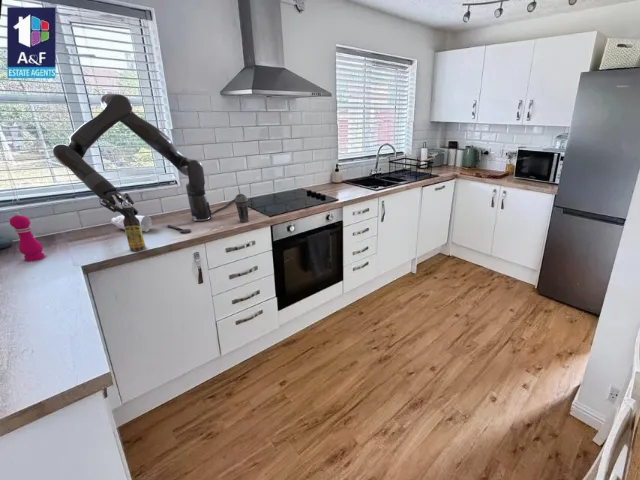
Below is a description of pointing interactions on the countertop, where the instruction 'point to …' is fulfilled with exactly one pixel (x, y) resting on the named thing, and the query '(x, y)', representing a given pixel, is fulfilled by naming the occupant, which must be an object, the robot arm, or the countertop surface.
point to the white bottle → (144, 220)
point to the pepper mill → (26, 238)
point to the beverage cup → (242, 207)
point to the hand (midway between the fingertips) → (132, 215)
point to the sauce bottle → (133, 230)
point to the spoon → (180, 229)
